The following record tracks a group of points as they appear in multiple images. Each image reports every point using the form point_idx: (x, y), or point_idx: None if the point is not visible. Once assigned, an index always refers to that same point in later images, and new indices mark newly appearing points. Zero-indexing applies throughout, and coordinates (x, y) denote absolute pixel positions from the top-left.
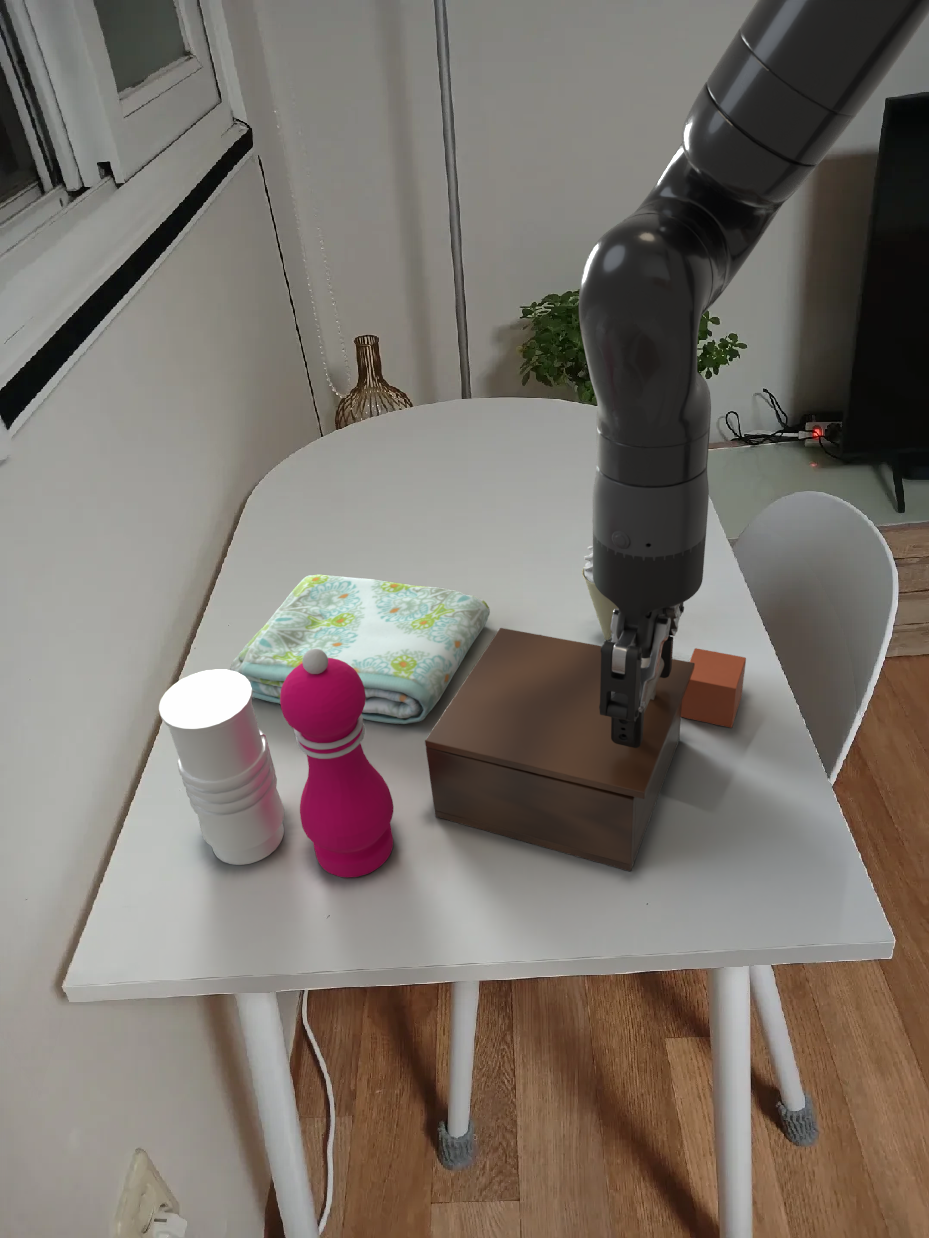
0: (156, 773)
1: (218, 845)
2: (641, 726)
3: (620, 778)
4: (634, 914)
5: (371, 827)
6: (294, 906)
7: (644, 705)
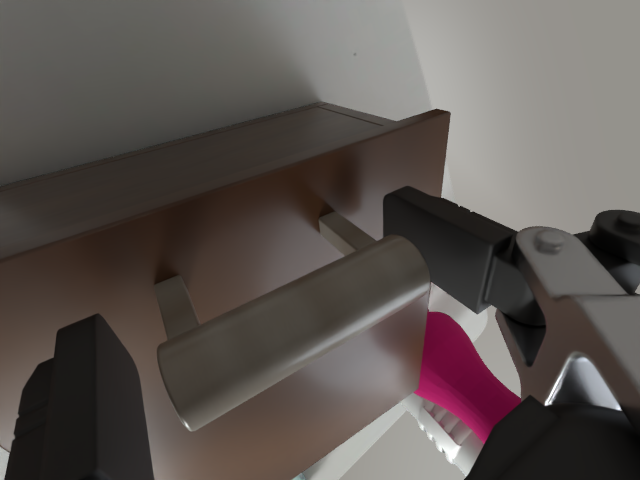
0: (382, 433)
1: None
2: (451, 208)
3: (429, 172)
4: (373, 62)
5: (449, 323)
6: (440, 300)
7: (562, 234)
